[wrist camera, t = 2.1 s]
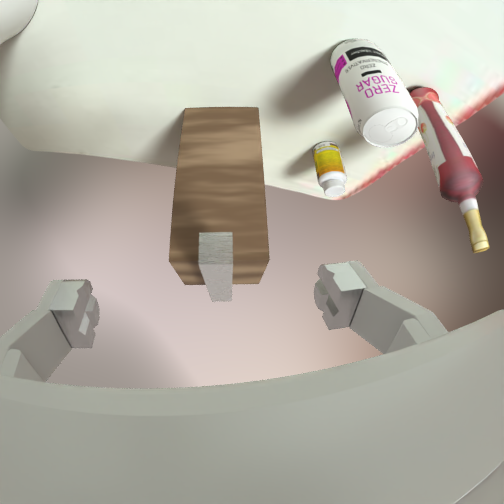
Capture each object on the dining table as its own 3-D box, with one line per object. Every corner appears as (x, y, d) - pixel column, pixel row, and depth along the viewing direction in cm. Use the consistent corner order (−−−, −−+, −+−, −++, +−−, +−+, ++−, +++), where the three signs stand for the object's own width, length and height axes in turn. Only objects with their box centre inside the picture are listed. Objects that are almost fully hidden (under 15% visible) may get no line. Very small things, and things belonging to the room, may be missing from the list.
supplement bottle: (308, 145, 52) (316, 189, 49) (334, 136, 50) (345, 180, 46) (317, 159, 57) (325, 201, 54) (342, 152, 54) (352, 194, 51)
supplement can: (353, 86, 37) (382, 158, 32) (317, 58, 33) (343, 129, 28) (391, 60, 31) (432, 130, 26) (358, 26, 26) (401, 92, 22)
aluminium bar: (199, 232, 26) (198, 264, 25) (232, 232, 26) (233, 264, 25) (211, 282, 44) (212, 301, 43) (231, 282, 45) (231, 301, 44)
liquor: (396, 88, 36) (459, 249, 27) (432, 77, 32) (507, 235, 23) (406, 114, 42) (457, 261, 33) (439, 104, 38) (498, 250, 29)
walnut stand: (185, 108, 42) (168, 261, 33) (258, 107, 43) (269, 259, 34) (192, 155, 54) (184, 284, 45) (252, 154, 55) (258, 283, 46)
